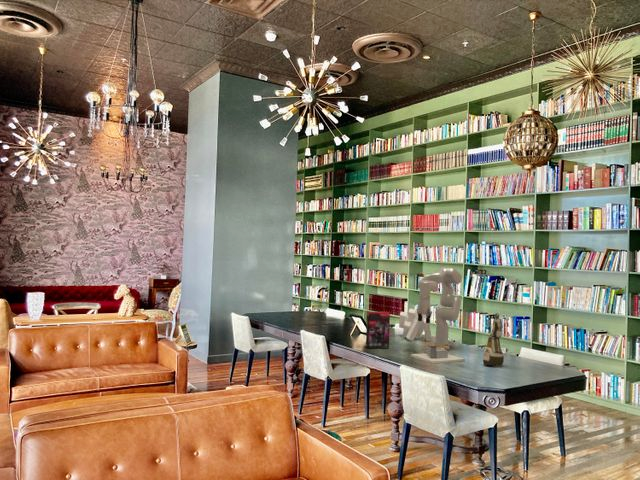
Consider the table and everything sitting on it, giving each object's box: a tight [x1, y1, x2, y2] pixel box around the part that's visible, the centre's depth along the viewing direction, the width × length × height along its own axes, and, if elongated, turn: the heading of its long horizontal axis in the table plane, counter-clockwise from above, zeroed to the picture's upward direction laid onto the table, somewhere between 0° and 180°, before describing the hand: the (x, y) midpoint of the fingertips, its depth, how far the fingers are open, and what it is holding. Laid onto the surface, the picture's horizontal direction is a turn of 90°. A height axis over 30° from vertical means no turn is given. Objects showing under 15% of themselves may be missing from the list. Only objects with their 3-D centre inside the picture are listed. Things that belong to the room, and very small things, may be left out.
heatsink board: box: [410, 345, 466, 365], centre depth 350 cm, size 28×24×10 cm
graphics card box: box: [365, 310, 391, 349], centre depth 381 cm, size 17×7×27 cm, turn 101°
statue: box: [482, 312, 505, 367], centre depth 336 cm, size 16×11×35 cm, turn 118°
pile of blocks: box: [398, 308, 433, 342], centre depth 429 cm, size 35×30×35 cm
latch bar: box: [423, 342, 450, 349], centre depth 356 cm, size 18×3×3 cm, turn 67°
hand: (423, 322), depth 363 cm, fingers open, 9 cm apart
